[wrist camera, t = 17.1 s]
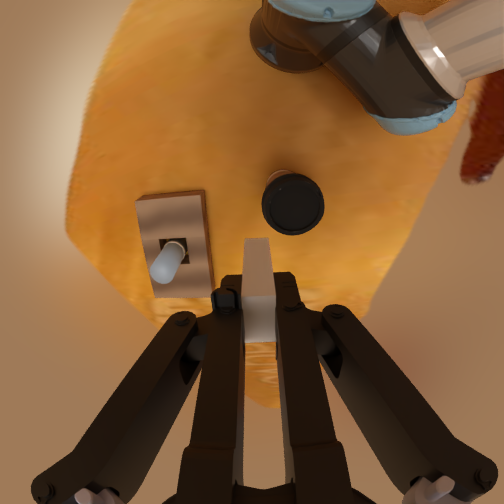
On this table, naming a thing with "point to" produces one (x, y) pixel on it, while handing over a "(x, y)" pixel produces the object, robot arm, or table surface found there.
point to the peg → (168, 260)
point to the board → (178, 226)
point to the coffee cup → (292, 203)
